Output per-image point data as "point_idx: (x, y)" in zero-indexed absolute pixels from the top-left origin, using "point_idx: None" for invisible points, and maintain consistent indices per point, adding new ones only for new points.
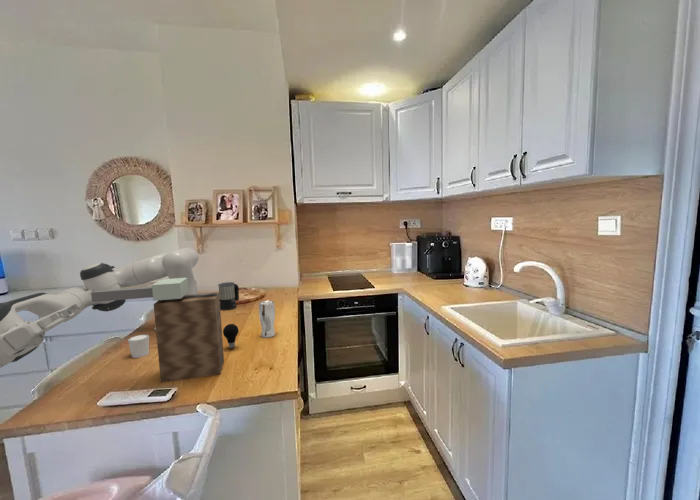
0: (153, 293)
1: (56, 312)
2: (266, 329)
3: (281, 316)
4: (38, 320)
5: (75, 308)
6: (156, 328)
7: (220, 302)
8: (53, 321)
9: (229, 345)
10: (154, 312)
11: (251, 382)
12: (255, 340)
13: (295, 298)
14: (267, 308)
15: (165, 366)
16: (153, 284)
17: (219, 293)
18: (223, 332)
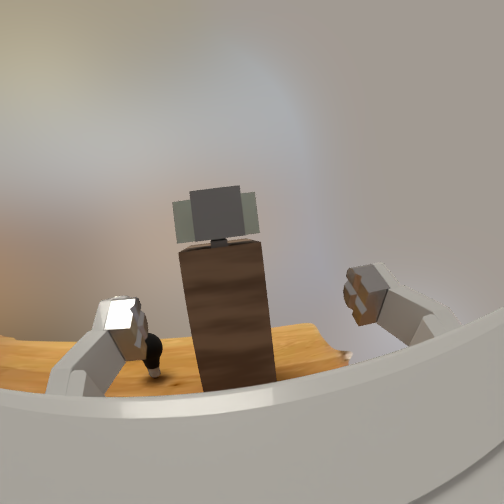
0: (257, 214)
1: (153, 397)
2: None
3: (60, 348)
4: (448, 333)
5: (143, 325)
6: (267, 305)
7: None
8: (388, 324)
9: (157, 372)
10: (263, 264)
11: (292, 343)
12: (140, 362)
13: (5, 338)
14: None
15: None
16: (246, 193)
17: None
18: (151, 350)
